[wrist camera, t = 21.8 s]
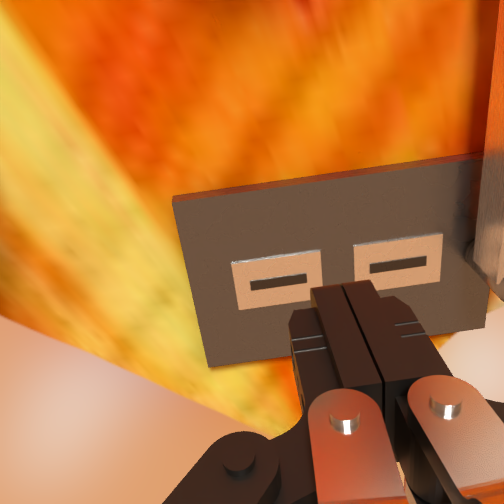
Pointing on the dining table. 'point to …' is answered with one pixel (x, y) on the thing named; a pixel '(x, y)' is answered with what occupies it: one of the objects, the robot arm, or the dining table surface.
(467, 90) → the dining table surface
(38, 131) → the dining table surface
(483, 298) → the label panel
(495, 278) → the swing bar
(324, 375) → the robot arm
